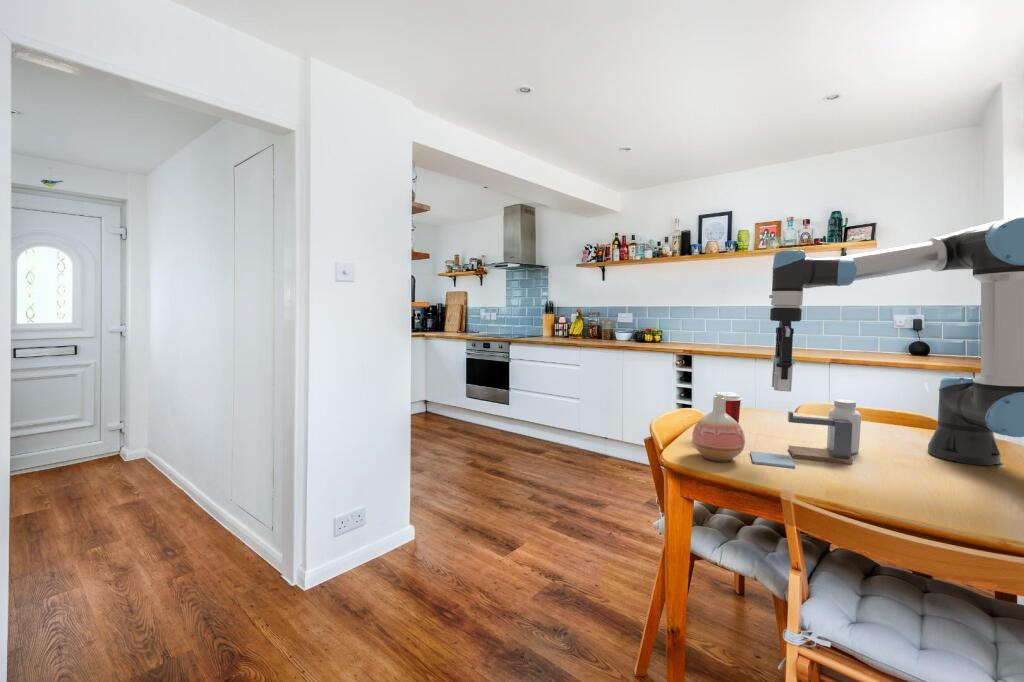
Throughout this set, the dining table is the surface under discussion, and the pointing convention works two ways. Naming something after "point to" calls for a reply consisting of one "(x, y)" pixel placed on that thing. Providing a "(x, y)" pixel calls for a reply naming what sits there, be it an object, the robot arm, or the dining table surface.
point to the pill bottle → (847, 411)
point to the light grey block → (775, 371)
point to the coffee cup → (731, 404)
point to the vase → (718, 434)
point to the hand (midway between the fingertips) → (781, 388)
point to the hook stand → (838, 440)
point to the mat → (772, 459)
